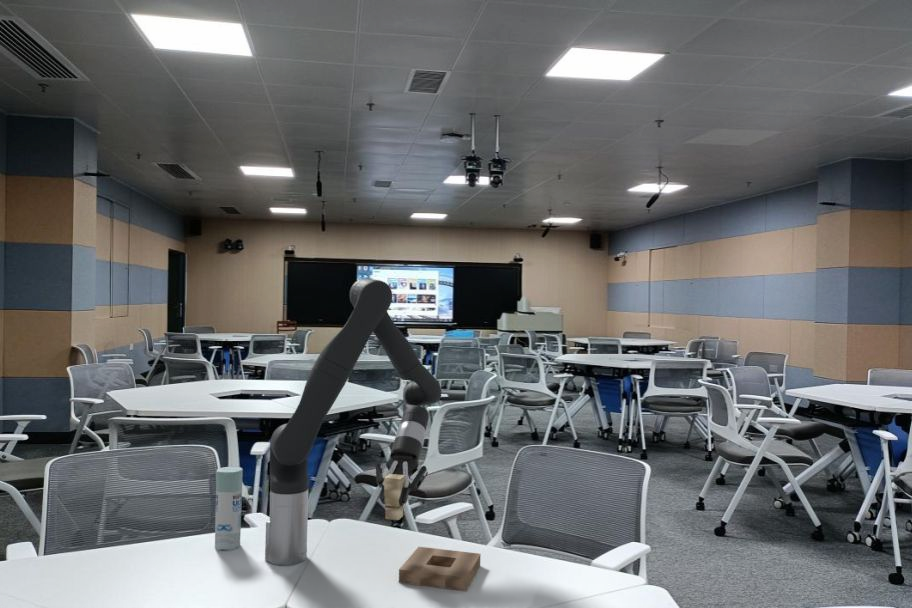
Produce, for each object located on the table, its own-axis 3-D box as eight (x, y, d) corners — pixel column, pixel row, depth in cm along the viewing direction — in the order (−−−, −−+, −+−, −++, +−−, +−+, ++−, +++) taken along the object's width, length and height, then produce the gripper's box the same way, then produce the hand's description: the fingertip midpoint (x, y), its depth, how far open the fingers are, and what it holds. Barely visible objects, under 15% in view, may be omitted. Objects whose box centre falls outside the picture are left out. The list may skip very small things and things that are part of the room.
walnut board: (398, 582, 148) (399, 569, 148) (418, 558, 163) (418, 546, 163) (466, 591, 144) (466, 577, 144) (480, 565, 159) (480, 553, 159)
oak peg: (383, 519, 156) (384, 477, 156) (389, 514, 160) (390, 473, 160) (399, 520, 155) (400, 479, 155) (404, 515, 159) (405, 475, 159)
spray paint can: (235, 551, 165) (237, 472, 165) (210, 550, 165) (212, 472, 165) (244, 542, 171) (246, 466, 171) (219, 541, 171) (221, 466, 171)
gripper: (379, 432, 166) (360, 492, 154) (432, 436, 163) (417, 497, 151) (386, 449, 171) (368, 508, 159) (437, 453, 168) (423, 513, 156)
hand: (392, 502), depth 155 cm, fingers closed on oak peg, 4 cm apart
